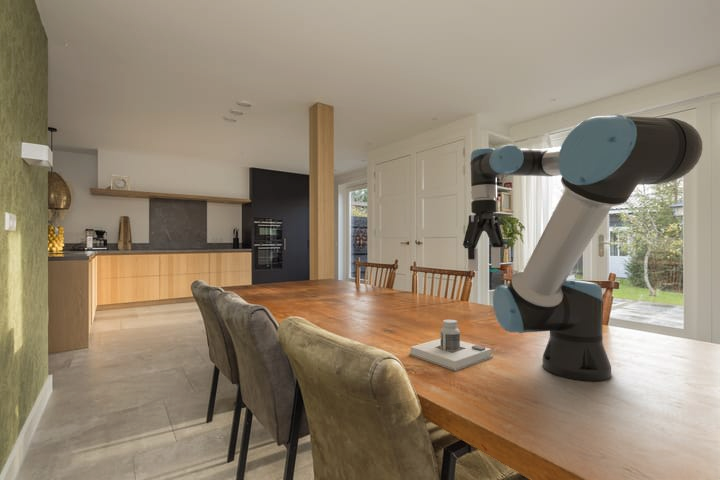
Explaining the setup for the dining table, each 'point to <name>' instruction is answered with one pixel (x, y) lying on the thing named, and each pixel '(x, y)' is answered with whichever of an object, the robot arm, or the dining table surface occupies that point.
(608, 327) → the dining table surface
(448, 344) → the pill bottle
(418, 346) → the socket plate
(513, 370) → the dining table surface
